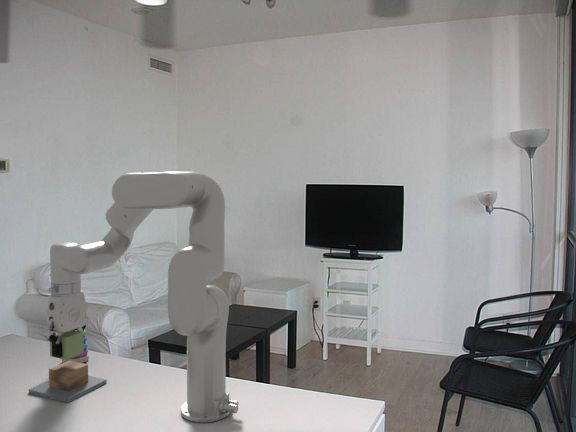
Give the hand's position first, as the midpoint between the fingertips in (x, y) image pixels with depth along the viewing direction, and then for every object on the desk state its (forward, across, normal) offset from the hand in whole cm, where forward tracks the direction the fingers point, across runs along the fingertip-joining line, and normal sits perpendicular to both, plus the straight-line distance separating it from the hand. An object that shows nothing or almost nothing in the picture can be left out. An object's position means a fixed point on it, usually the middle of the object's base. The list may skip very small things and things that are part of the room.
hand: (67, 352), depth 142 cm
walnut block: (+9, 0, 0) cm, 9 cm away
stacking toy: (+10, +16, +14) cm, 23 cm away
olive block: (+1, 0, 0) cm, 1 cm away
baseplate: (+10, 0, 0) cm, 10 cm away
